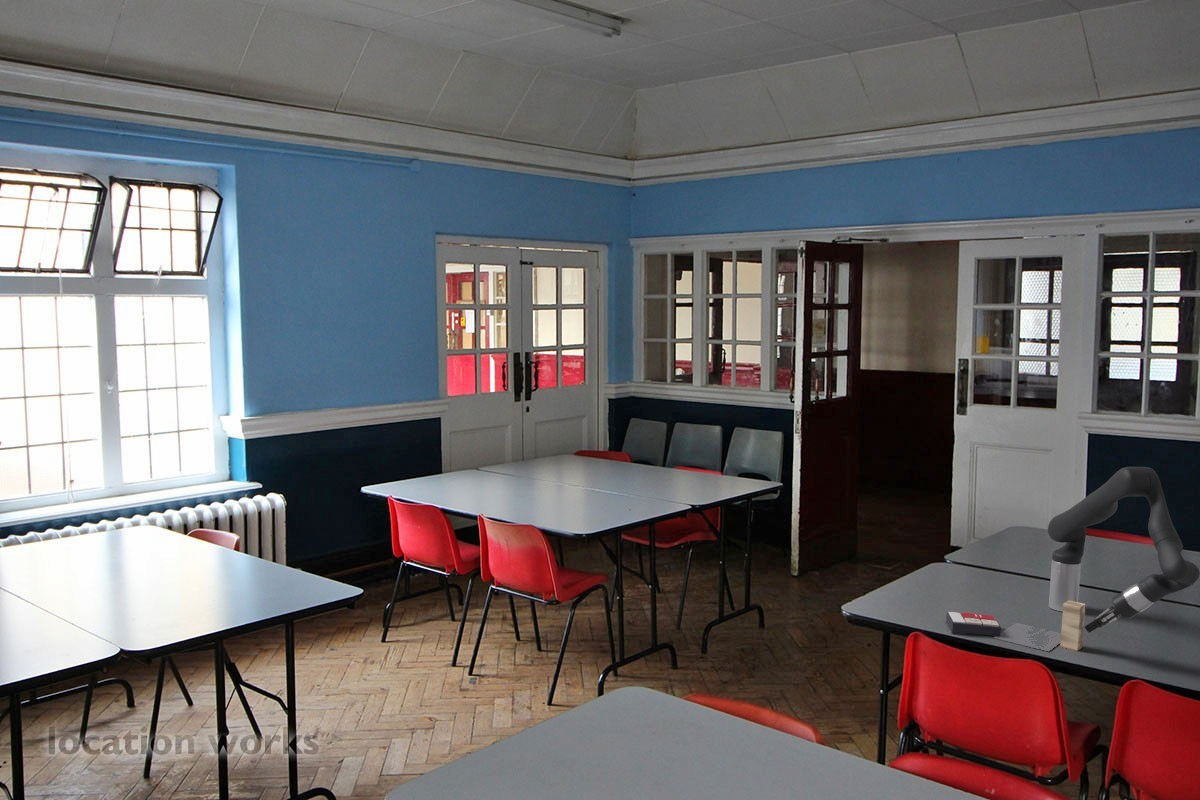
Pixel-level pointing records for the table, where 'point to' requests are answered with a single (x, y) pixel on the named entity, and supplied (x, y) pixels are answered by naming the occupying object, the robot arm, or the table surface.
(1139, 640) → the table surface
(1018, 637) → the mat
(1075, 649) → the tall block
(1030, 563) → the table surface
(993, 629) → the red white grey box
